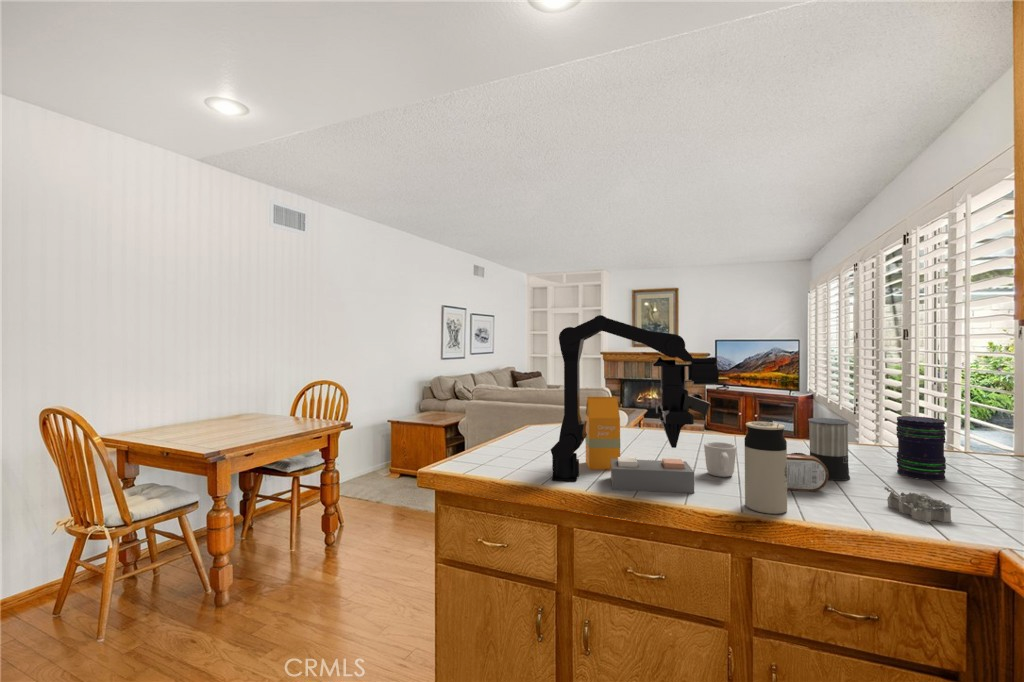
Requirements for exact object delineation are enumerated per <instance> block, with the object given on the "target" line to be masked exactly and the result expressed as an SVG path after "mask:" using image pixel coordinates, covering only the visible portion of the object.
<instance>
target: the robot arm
mask: <svg viewBox="0 0 1024 682" xmlns="http://www.w3.org/2000/svg"><path fill="white" fill-rule="evenodd" d="M601 332H604V333H608V334H610V335H615V336H617V337H621V338H624V339H627V340H630V341H633V342H636V343H639V344H641V345H645V346H646V347H647V346H648V347H649V348H651V349H653V350H655V351H656V352H657V353H660V354H662V355H664V356H667V357H669V358H678V359H680V360H681V361H683V362H686V363H676V359H663V358H662V357H661V356H658V357H657V359H656V360H655V362H653V363H652V366H653V367H660V387H659V392H660V402H658V403H657V404H655V413H656V414H657V415H660V414H661V413H662V416H659V417H658V418H659V421H660V423H661V425H662V429H663V431H664V433H665V435H666V437H667V440H668V443H669V445H670V447H671V449H677V445H678V441H679V437H680V434H681V430H682V428H684V426H685V425H690V426H691V425H695V424H694V423H695V422H694V421H695V420H694V418H695V417H694V415H693V414H692V413H691V412H690V410H691V411H694V412H697V413H699V414H701V415H703V416H707V415H708V412H709V410H710V408H711V405H712V403H711V402H708V401H706V400H705V399H704V400H703V397H702V395H701V394H698V393H693V394H692V395H689V391H688V389H686V373H687V381H688V382H690V381H691V382H692V385H693V386H718V385H719V376H720V375H719V370H718V362H717V360H718V359H717V357H715V356H711V357H710V356H709V357H693V355H692V354H690V353H689V351H688V350H687V349H686V342H685V340H684V338H683V337H682V336H681V335H678V334H675V333H669V332H668V333H667V332H661V331H654V330H648V329H645V328H641V327H637V326H634V325H631V324H627V323H624V322H621V321H618V320H615V319H612V318H609V317H606V316H604V315H599V314H598V315H597V316H595V317H594V318H592V319H589V320H587V321H585V322H582V323H581V324H579V325H577V326H575V327H572V326H568V327H565V328H563V329H562V330H561V331H560V332H559V335H558V340H559V341H558V343H559V347H560V353H561V356H562V360H563V373H564V374H563V380H564V381H563V387H564V388H563V393H564V394H563V395H564V396H563V397H564V398H563V400H564V402H563V410H564V411H563V413H564V414H563V419H562V423H561V427H560V431H559V437H558V440H557V442H556V443H555V444H554V445H553V446H552V447H551V449H550V452H551V455H552V456H551V457H552V460H551V461H552V465H551V466H552V475H551V481H562V482H563V481H567V482H577V481H578V478H579V476H580V459H579V458H578V457H577V456H578V454H577V452H576V451H577V450H578V449H580V447H581V445H583V443H584V440H585V438H586V436H587V433H586V423H587V421H585V420H582V418H581V414H580V405H581V404H580V393H581V391H580V385H581V384H580V381H581V380H580V379H581V378H580V361H581V357H582V353H583V349H584V344H585V341H587V340H588V339H590V338H592V337H593V336H595V335H598V334H599V333H601ZM687 362H689V363H687ZM686 367H687V372H686Z"/></svg>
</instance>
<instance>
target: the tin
mask: <svg viewBox="0 0 1024 682" xmlns="http://www.w3.org/2000/svg"><path fill="white" fill-rule="evenodd" d="M828 476H829V475H828V470H827V468H826V466H825V465H824V464H823V463H822V462H821V461H820V460H819V459H818V458H816V457H814V456H811V455H810V454H806V455H797V454H791V453H787V491H800V492H801V491H802V492H817V491H820V490H821V489H823V488H825V486H826V485H827V483H828V481H829V480H828Z"/></svg>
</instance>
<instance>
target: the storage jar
mask: <svg viewBox="0 0 1024 682" xmlns="http://www.w3.org/2000/svg"><path fill="white" fill-rule="evenodd" d="M896 421H897V422H896V439H897V451H896V464H897V465H896V466H897V474H898V475H900V474H901V476H903V477H906V476H907V477H906V478H910V477H911V479H915V478H918V479H917V480H921V479H924V480H923V481H931V480H941V481H945V480H946V475H945V474H946V468H947V464H946V461H947V460H946V457H945V443H946V434H947V432H946V426H945V424H946V421H945V420H943V419H940V418H934V417H927V416H914V415H913V416H912V415H911V416H909V415H902V416H897V417H896ZM944 479H945V480H944Z"/></svg>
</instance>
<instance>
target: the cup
mask: <svg viewBox="0 0 1024 682" xmlns="http://www.w3.org/2000/svg"><path fill="white" fill-rule="evenodd" d="M703 449H704V457H705V465H706V467H705V468H706V471H707V473H708V474H709V475H712V476H714V477H720V478H727V477H732V476H733V475H734V472H735V464H736V457H737V446H736V445H735V444H732V443H728V442H720V441H710V442H705V443H704V444H703Z"/></svg>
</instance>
